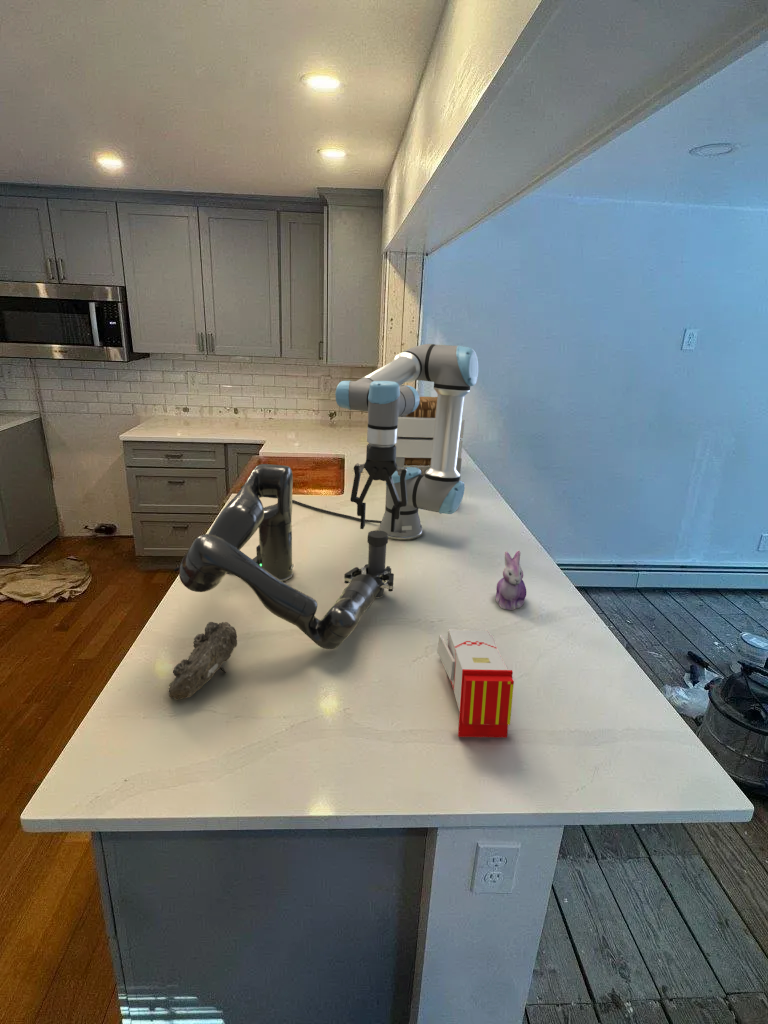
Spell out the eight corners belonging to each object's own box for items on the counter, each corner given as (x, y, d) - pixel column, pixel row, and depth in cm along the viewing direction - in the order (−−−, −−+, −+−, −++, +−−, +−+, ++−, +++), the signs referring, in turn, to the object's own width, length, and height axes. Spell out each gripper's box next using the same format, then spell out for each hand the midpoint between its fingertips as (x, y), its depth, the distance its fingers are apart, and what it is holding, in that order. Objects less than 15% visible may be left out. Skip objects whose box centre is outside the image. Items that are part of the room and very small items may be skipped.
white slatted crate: (382, 463, 289) (386, 382, 275) (445, 464, 293) (451, 384, 279) (390, 482, 257) (394, 392, 243) (460, 483, 261) (468, 394, 247)
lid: (368, 546, 149) (368, 537, 148) (366, 538, 154) (367, 530, 154) (388, 546, 150) (389, 538, 149) (386, 538, 155) (387, 530, 154)
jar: (367, 597, 155) (369, 539, 149) (366, 589, 159) (368, 532, 153) (384, 597, 155) (387, 539, 150) (383, 589, 160) (385, 532, 154)
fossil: (191, 624, 130) (237, 594, 125) (220, 652, 133) (266, 624, 128) (146, 693, 111) (199, 661, 106) (181, 724, 114) (234, 694, 109)
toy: (488, 613, 130) (523, 677, 101) (484, 667, 133) (517, 744, 104) (435, 612, 130) (455, 676, 101) (432, 666, 133) (451, 743, 103)
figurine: (508, 614, 149) (515, 562, 144) (485, 597, 158) (490, 547, 153) (536, 607, 153) (543, 557, 148) (511, 591, 162) (518, 542, 157)
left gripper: (332, 603, 145) (354, 575, 161) (385, 613, 142) (403, 584, 157) (332, 576, 143) (355, 551, 158) (387, 586, 139) (405, 559, 154)
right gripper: (422, 444, 145) (416, 527, 153) (345, 438, 148) (343, 520, 155) (420, 450, 138) (414, 537, 146) (339, 444, 141) (337, 530, 148)
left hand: (379, 567), depth 157 cm, fingers closed on jar, 4 cm apart
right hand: (377, 528), depth 150 cm, fingers open, 7 cm apart
